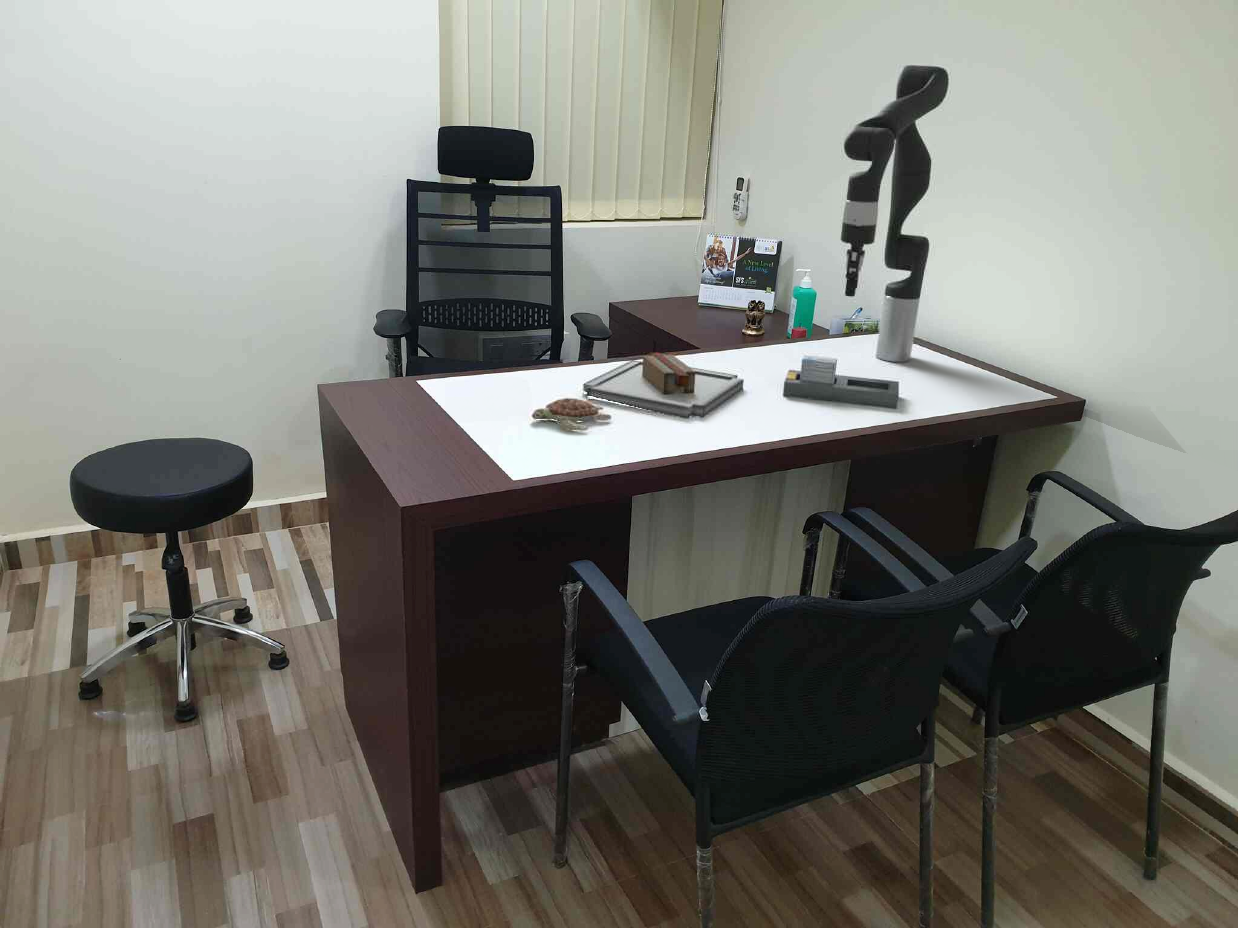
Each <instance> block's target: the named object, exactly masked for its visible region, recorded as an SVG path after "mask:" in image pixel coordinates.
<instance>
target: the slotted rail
mask: <svg viewBox="0 0 1238 928" xmlns="http://www.w3.org/2000/svg"><path fill="white" fill-rule="evenodd" d="M800 374H801V370H795V369H789V370H788V372H787V374H786V377H785V379H784V383H783V390H782V397H788V398H796V399H806V400H814V401H824V402H833V403H840V404H849V405H858V406H866V407H867V406H868V407H876V408H884V409H892V410H897V407H898V402H899V401H898V400H899V395H900V393H899V392H900V387H899V385H900V384H899V381H897V380H887V379H878V378H868V377H860V376H859V377H858V376H851V375H850V376H849V375H841V374H835V380H834V384H829V383H820V382H811V381H802V380H800Z"/></svg>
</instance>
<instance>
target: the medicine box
mask: <svg viewBox="0 0 1238 928" xmlns="http://www.w3.org/2000/svg"><path fill="white" fill-rule="evenodd" d="M837 362H838V359H837V357H835V358H834V357H828V356H818V355H808V354H805V355H803V357H802V359H801V368H800V371H801V374H800V380H802V381H811V382H820V383H829V384H834V380H835V375H836V373H837V372H836V371H837Z"/></svg>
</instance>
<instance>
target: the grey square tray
mask: <svg viewBox="0 0 1238 928" xmlns="http://www.w3.org/2000/svg"><path fill="white" fill-rule="evenodd" d="M744 382H745V379H743V378H738V374H732V373H726V372H721V371H716V370H710V369H709V370H708V369H704V368H696V367H692V366H688V365H687V364H686V363H684V362H683V361H681V360H680V359H679V358H678V357H676V356H675V355H673V354H662V353H660V352H650V353H649V355H643V356H642V360H641V361H639V360H633V359H632V360H630V361H627V362H626V363H623V364H621V365H619V366H617V367H615V368H613V369H611V370H609V371H607V372H605V373H603V374H601V375H599V376H597V377H595V378H592V379H590V380H588V381H586V382H585V383H583V385H582V386H583V388H582V390H583V391H585V392H587V395H588V396H593V397H596V398H601V399H606V400H608V401H613V402H618V403H621V404H626V405H629V406H634V407H638V408H642V409H646V410H645V411H647V410H651V411H650V412H652V411H654V412H653V413H657V412H660V413H659V414H662V413H664V414H663V415H669V416H672V415H673V417H677V416H679V417H678V418H682V419H690V418H691V417H692V415H693V417H697V416H698V418H704V417H706V416H707V415H708V414H710V413H712V412H713V411H714V410H716V409H718V408H719V407H720V406H722V405H723V404H725V402H727V401H729V399H731V398H733V397H734V396H735V395H738V393H740V392H741V391H743V390H744ZM583 391H582V392H583ZM587 395H586V396H587ZM642 409H641V410H642ZM690 416H691V417H690Z"/></svg>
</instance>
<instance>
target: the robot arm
mask: <svg viewBox="0 0 1238 928" xmlns="http://www.w3.org/2000/svg"><path fill="white" fill-rule="evenodd" d="M949 82H950V81H949V73H948V71H947V69H945V68H943V67H940V66H935V65H914V64H911V65H909V64H908V65H904V66H903V68H902V69H901V70H900V72H899V75H898V78H897V82H896V83H897V84H896V88H895V89H896V91H895V100H893V101H890V102H889V103H887V104H886V105H884V106H883V107H882V108H881V109H880V110H879V111H878V112H877V113H876V114H875V115H874V116H873V117H870V118H868V119H866V120H864V121H861V122H860V123H858V124H856V125H854V126H853V127H852V128H851V129H850V130H849V131H848V133H847V134H846V136H845V138H844V142H843V148H844V149H843V150H844V153H845V155H846V156H847V158H849V159H850V160H853V161H859V162H861V161H862V162H871V165H870V166H869V168H868V169H867V170H863V171H857V172H854V173H852V174H850V175H849V178H848V183H847V191H846V201H845V204H844V210H843V216H842V224H841V233H840V241H841V242H842V243H844V244H849V245H850V249H847V251H846V255H845V257H846V258H845V259H846V261H845V262H846V263H845V271H846V274H845V280H846V284H845V292H844V295H845V296H846V297H850V298H851V297H855V295H856V291H857V288H858V282H859V276H860V272H861V271H862V267H863V262H864V259H865V255H866V250H863V249H864V246H866V245H872V244H873V243H875V239H876V233H877V232H876V231H877V225H878V216H879V201H880V200H879V198H880V191H881V184H882V181H883V178H884V175H885V171H886V169H887V167H888V164H889V162H890V159H891V156H892V155H893V154H894V155H893V164H892V173H891V174H892V175H891V188H890V189H891V193H890V195H891V196H890V208H889V209H890V210H889V219H888V226H887V227H888V228H887V232H886V241H885V248H884V257H883V259H884V260H883V261H884V265H885V267H886V268H887V269H891V270H898V271H907V272H910V274H909V275H908V276H907V277H905V278H904V279H900V280H897V281H892V282H889V283H887V284H886V285H885V290H884V295H883V303H882V304H883V305H882V311H881V317H880V322H879V323H880V324H879V331H878V336H877V337H878V339H877V346H876V353H875V357H876V358H878V359H879V360H883V361H887V362H894V363H895V362H896V363H898V362H899V363H903V362H904V363H905V362H908V361H910V360H911V356H912V349H913V344H914V338H915V330H916V327H917V326H916V325H917V318H918V312H919V306H920V299H921V293H922V288H923V281H924V276H925V270H926V267H927V263H928V262H927V261H928V258H929V254H930V253H929V252H930V240H929V239H928V237H927V236H923V235H913V234H903V233H902V229H903V226H904V222H905V221H906V220H907V219H908V217H909V215H910V213H911V212H912V211H913V210H914V209H915V207H916V206H917V205H918V204H919V203H920V201H921V200H922V199H923V198H924V197H925V195H926V193H927V191H928V190H929V188H930V181H931V173H932V158H931V154H930V152H929V150H928V148H927V146H926V144H925V142H924V140H923V138H922V136H921V134H920V132H919V129H918V128H917V124H916V121H917V120H919V119H920V118H922V117H923V116H925V115H927V114H928V113H930V112H932V111H933V110H935V109H936V108H938V107H939V106H940V105H941V104H942V103H943V102H944V99H945V98H946V95H947V93H948V89H949ZM893 151H894V153H893Z"/></svg>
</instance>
